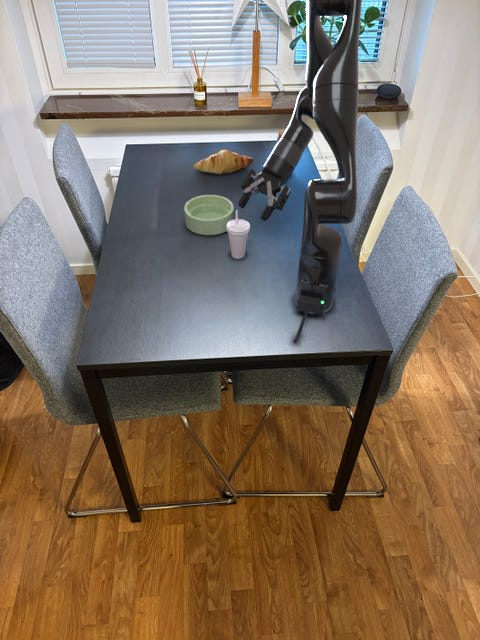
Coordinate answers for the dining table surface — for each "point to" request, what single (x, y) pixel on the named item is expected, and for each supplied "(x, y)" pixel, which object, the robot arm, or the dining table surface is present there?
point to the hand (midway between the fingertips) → (251, 213)
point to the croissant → (223, 162)
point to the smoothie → (238, 236)
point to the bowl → (208, 214)
